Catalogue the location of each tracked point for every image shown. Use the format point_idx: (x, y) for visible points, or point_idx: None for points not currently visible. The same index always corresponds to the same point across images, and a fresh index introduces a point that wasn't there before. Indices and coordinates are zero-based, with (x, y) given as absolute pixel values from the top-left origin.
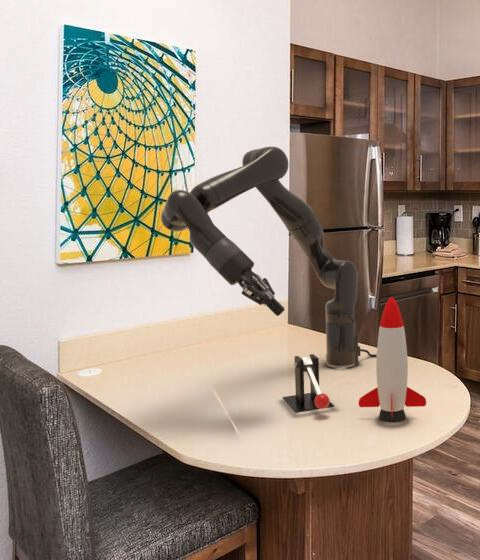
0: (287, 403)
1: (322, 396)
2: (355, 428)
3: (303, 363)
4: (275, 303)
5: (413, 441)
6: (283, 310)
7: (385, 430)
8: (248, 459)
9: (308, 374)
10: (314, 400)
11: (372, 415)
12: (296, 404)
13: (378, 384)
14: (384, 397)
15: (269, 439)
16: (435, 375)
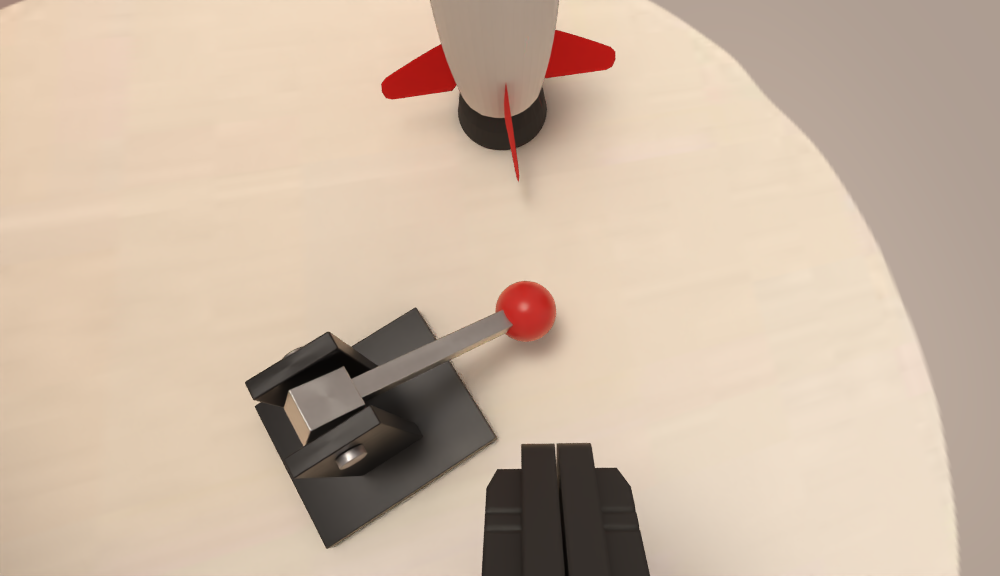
0: (396, 503)
1: (541, 298)
2: (578, 207)
3: (347, 415)
4: (603, 542)
5: (647, 39)
6: (565, 444)
7: (579, 119)
8: (903, 489)
9: (392, 386)
10: (534, 338)
11: (457, 176)
12: (415, 457)
13: (529, 62)
14: (546, 68)
15: (727, 471)
16: (37, 32)
